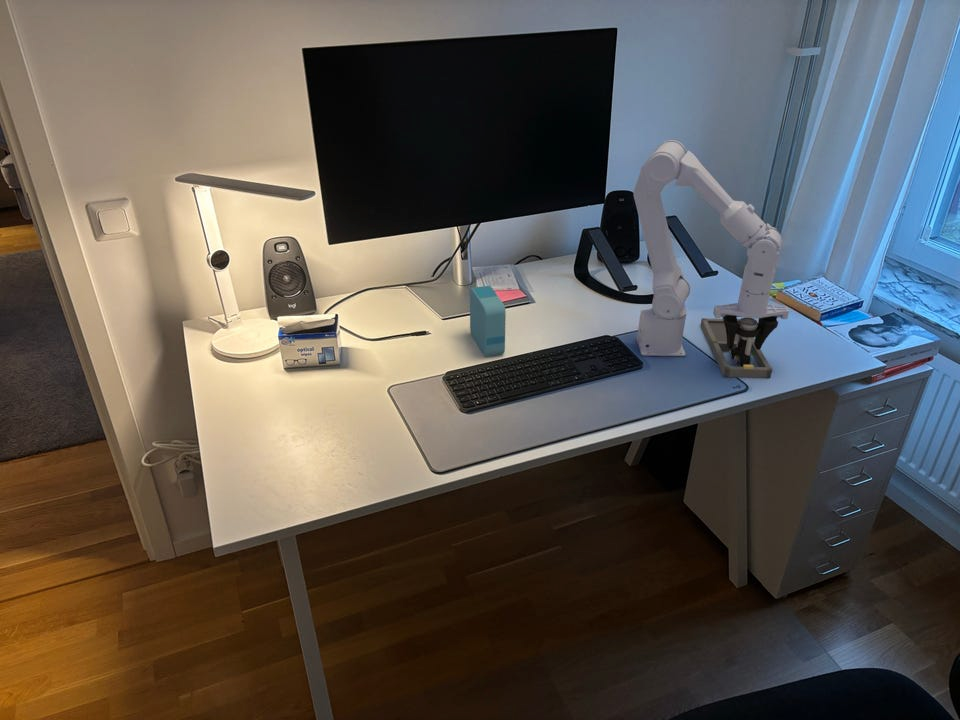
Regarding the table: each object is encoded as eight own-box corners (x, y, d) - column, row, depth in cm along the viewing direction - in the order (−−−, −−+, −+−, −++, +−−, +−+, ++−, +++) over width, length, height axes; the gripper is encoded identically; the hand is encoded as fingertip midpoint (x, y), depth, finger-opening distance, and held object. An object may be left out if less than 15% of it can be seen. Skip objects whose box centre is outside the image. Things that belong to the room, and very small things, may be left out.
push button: (719, 355, 159) (726, 315, 154) (740, 351, 160) (748, 310, 155) (737, 371, 153) (744, 329, 148) (759, 366, 155) (767, 325, 149)
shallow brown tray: (723, 377, 151) (725, 366, 150) (700, 326, 170) (702, 316, 169) (770, 378, 151) (772, 367, 150) (741, 326, 170) (743, 316, 169)
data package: (505, 356, 159) (506, 306, 152) (485, 359, 158) (485, 309, 151) (488, 330, 168) (489, 282, 162) (469, 333, 167) (469, 285, 161)
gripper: (786, 280, 150) (772, 338, 157) (714, 279, 151) (704, 337, 158) (797, 295, 144) (782, 355, 151) (723, 294, 145) (711, 353, 152)
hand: (743, 347), depth 154 cm, fingers closed on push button, 5 cm apart
